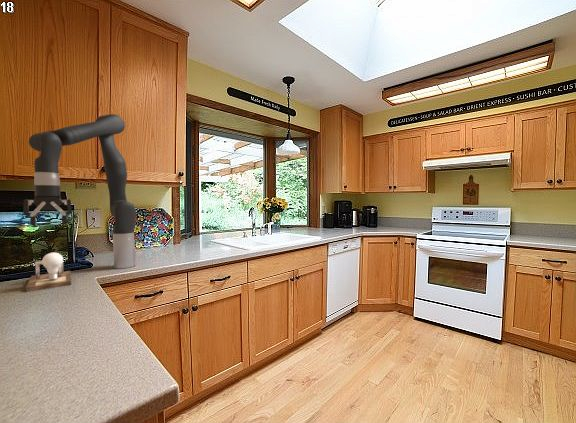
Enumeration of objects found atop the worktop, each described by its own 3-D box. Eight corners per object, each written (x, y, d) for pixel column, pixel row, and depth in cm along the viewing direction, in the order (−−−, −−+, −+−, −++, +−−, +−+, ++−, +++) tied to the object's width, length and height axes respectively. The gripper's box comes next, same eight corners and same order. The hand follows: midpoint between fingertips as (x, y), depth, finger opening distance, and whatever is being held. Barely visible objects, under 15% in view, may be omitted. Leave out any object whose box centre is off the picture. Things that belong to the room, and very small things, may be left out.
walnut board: (70, 273, 124) (70, 270, 124) (70, 284, 109) (70, 281, 109) (31, 279, 116) (31, 275, 116) (26, 291, 100) (25, 287, 100)
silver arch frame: (63, 272, 121) (63, 256, 121) (63, 277, 114) (62, 260, 114) (36, 275, 116) (36, 259, 115) (34, 281, 108) (34, 263, 108)
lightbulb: (38, 282, 104) (38, 254, 104) (48, 278, 110) (47, 251, 110) (58, 281, 106) (57, 253, 106) (66, 277, 112) (66, 250, 112)
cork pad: (66, 277, 113) (66, 276, 113) (65, 281, 108) (65, 280, 108) (36, 281, 108) (36, 280, 108) (35, 286, 102) (35, 284, 102)
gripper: (70, 185, 113) (72, 223, 114) (23, 184, 104) (25, 226, 105) (70, 184, 108) (72, 225, 108) (20, 183, 99) (23, 227, 99)
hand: (49, 225), depth 107 cm, fingers open, 8 cm apart
